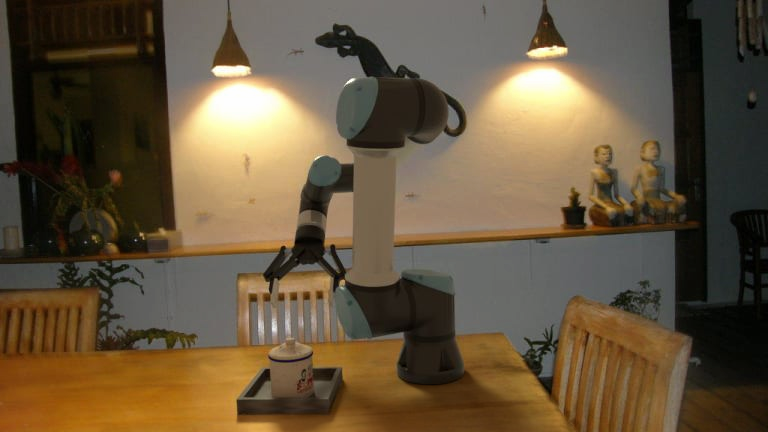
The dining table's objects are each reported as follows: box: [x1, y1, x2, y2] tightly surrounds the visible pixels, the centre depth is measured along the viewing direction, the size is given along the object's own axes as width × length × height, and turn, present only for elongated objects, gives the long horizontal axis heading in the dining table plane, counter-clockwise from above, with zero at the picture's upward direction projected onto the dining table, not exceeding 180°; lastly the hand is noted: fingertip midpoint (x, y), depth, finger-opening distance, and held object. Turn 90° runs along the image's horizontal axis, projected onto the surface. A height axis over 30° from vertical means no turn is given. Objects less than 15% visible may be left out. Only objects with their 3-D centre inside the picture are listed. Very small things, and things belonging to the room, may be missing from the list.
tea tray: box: [236, 366, 344, 415], centre depth 127 cm, size 18×18×3 cm
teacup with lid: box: [268, 337, 314, 397], centre depth 126 cm, size 12×9×12 cm
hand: (301, 304), depth 142 cm, fingers open, 13 cm apart
